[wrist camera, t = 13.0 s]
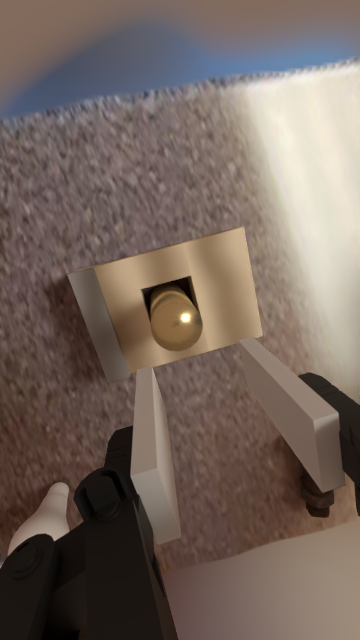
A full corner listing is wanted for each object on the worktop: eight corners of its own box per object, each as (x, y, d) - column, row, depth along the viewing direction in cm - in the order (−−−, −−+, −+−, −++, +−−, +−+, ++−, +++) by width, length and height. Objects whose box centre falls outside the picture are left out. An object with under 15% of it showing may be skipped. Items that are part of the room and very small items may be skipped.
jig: (231, 228, 32) (246, 226, 27) (249, 325, 35) (265, 338, 31) (77, 270, 31) (65, 275, 26) (111, 365, 34) (106, 384, 30)
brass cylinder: (180, 278, 32) (195, 295, 22) (189, 311, 34) (208, 343, 23) (145, 288, 32) (144, 310, 22) (156, 321, 34) (159, 357, 23)
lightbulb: (83, 502, 39) (60, 597, 29) (37, 502, 38) (-3, 601, 28) (85, 466, 38) (62, 553, 27) (37, 466, 37) (-6, 555, 26)
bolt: (300, 490, 46) (294, 417, 42) (334, 497, 44) (333, 421, 40) (299, 525, 42) (294, 447, 37) (338, 534, 39) (337, 453, 35)
